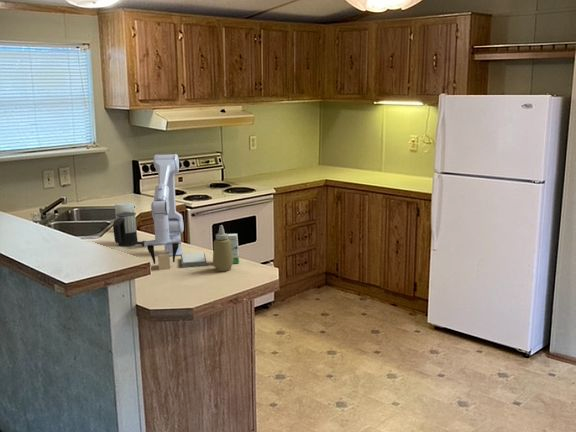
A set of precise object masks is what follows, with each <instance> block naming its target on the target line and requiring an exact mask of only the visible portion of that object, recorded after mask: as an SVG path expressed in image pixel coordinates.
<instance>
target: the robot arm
mask: <svg viewBox="0 0 576 432" xmlns="http://www.w3.org/2000/svg"><path fill="white" fill-rule="evenodd" d="M153 167H154V168H155V170H156V172H157V173H158V175H157V177H158V179H157V181H158V183H157V185H156V186H155V187H154V195H153V201H151V203H150V210H151V215H152V220H153V226H154V239H152V240H143V241H144V246H143V247H144V248H146V249H147V251H148V252H149V254H150V256H151V259H152V263H153V265H155V264H156V255H155V247H157V246H164V250H163V251H169V257H170V256H171V257H172V262H173V263H175V261H176V260H175V258H176V256H181V255H183V254H184V253H183V252H184V251H183V248H182V237H181V234H182V233H183V232H184V230H185V229H184V228H185V227H184V219H183V218H184V217H183V215H182V214H181V213H180V212H178V211H177V206H176V205H177V204H176V186H175V185H176V183H175V179H176V174H178V173H179V171H180V161H179V155H178V154H177V153H174V154H155V155H154V156H153Z"/></svg>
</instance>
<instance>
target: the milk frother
mask: <svg viewBox="0 0 576 432" xmlns="http://www.w3.org/2000/svg"><path fill="white" fill-rule="evenodd" d="M136 214H137V213H136V212H135V211H134V212H124V213H118V214H115V216H116V215H117V219H116V218H115V220H114V221H113V224H112V229H113V238H114V242H115V243H116V244H118V246H120V247H132V246H136V245H137V246H142V247H145V246H144V241H145V240H141V241H140V240H139V241H138V234H137V217H136Z"/></svg>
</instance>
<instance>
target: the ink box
mask: <svg viewBox="0 0 576 432" xmlns="http://www.w3.org/2000/svg"><path fill="white" fill-rule="evenodd" d="M227 234H228V238H227V239H229V240H230V242H231V249H232V255H233V263H232V265H233V264H234V265H235V264H236V265H237V264H240V258H239V257H240V255H239V239H238V238H239V237H238V233H227Z"/></svg>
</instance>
